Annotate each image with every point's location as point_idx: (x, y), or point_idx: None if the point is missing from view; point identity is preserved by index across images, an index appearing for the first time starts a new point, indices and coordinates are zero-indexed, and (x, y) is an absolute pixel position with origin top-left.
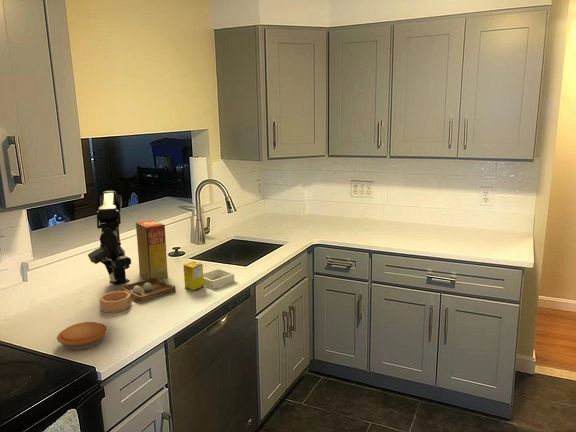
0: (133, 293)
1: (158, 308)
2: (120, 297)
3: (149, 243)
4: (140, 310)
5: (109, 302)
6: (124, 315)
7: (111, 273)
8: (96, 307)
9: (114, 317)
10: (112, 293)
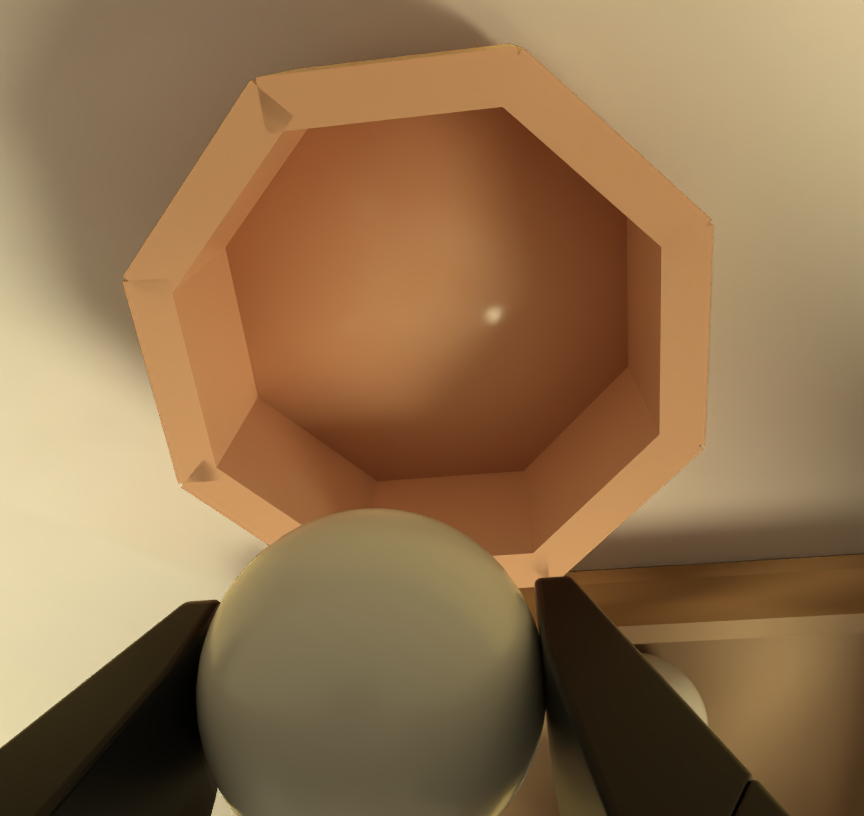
0: None
1: (28, 654)
2: (568, 453)
3: None
4: (84, 489)
5: (203, 162)
6: (22, 263)
7: (337, 729)
8: (653, 18)
9: (21, 111)
10: (653, 388)
